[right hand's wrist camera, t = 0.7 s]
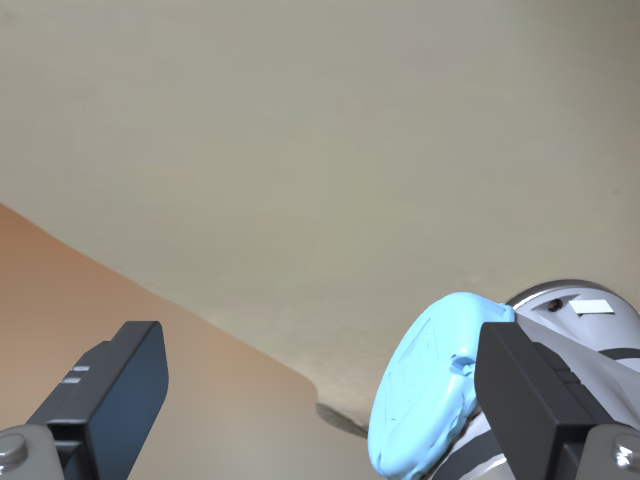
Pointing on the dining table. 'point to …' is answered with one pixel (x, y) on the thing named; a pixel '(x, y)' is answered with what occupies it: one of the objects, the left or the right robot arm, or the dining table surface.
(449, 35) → the dining table surface
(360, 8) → the dining table surface
